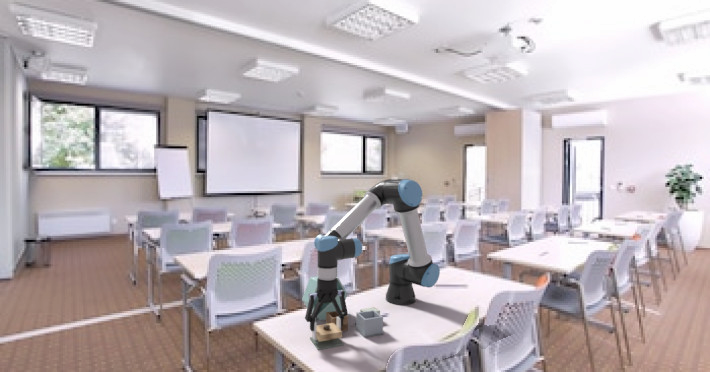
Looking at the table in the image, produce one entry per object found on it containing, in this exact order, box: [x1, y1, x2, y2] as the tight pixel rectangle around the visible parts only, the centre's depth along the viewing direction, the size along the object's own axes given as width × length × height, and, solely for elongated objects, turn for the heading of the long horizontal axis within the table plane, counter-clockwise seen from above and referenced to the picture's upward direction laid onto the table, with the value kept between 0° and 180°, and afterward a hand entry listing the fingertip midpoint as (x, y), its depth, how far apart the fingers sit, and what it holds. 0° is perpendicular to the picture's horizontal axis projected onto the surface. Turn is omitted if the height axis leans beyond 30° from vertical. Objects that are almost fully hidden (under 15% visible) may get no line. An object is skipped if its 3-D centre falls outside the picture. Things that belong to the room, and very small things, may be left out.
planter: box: [301, 275, 348, 321], centre depth 164 cm, size 17×8×21 cm
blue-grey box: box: [355, 310, 384, 338], centre depth 148 cm, size 8×8×7 cm
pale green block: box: [359, 306, 381, 315], centre depth 159 cm, size 7×5×5 cm
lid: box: [316, 323, 343, 342], centre depth 138 cm, size 9×9×3 cm
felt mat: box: [309, 337, 344, 351], centre depth 138 cm, size 10×10×1 cm
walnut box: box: [325, 310, 349, 332], centre depth 151 cm, size 7×7×6 cm
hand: (326, 336), depth 138 cm, fingers closed on lid, 9 cm apart
